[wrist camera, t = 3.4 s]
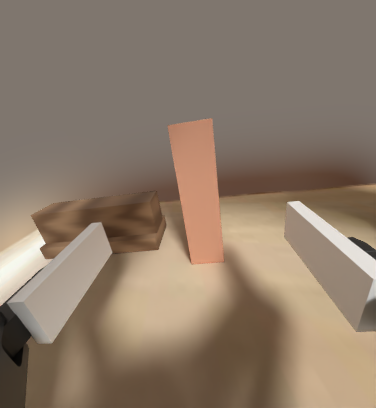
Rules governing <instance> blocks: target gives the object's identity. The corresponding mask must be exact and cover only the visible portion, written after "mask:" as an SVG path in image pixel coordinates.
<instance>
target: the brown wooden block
mask: <svg viewBox="0 0 376 408" xmlns="http://www.w3.org/2000/svg"><path fill="white" fill-rule="evenodd" d="M31 217H32V219H33V220H34V222H35V224H36V226H37V228H38V230H39V232H40V233H41V235H42V237H43V239H44V241H45V243H46V244H45V245H44V246H42V247H41V248H40V250H41V252H42V254H43V255H44V257H45V259H53V258H55V257H56V256H57V255H58V254H59V253H60V252H61V251H62V250H64V249H65V248H66V247H67V246H68V245H69V244H70V243H71V242H72V241H73V240H74V239H75V238H76V237H77V236H78V235H79V234H81V233H82V232H83V231H84V230H85V229H86V228H87V227H88V226H89V225H90V224H91V223H98V222H101V223H102V226H103V228H104V231H105V234H106V236H107V239H108V242H109V244H110V247H111V250H112V253H124V252H136V251H148V250H158V249H159V246H160V243H161V240H162V237H163V234H164V231H165V227H166V222H165V217H164V215H162V213H161V208H160V204H159V200H158V195H157V191H151V192H142V193H134V194H126V195H118V196H109V197H101V198H92V199H84V200H76V201H68V202H59V203H53V204H51V205H49V206H47V207H45V208H44V209H42V210H40V211H38V212H36V213H34V214H33V215H31Z"/></svg>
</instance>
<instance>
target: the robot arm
mask: <svg viewBox="0 0 376 408" xmlns="http://www.w3.org/2000/svg"><path fill="white" fill-rule="evenodd" d="M284 237H285V239H286V240H287V241H288V243H289V244H290V245H291V247H292V248H293V249H294V251H295V252H296V253H297V255H298V256H299V257H300V258H301V260H302V261H303V262H304V264H305V265H306V266H307V268H308V269H309V270H310V272H311V273H312V274H313V276H314V277H315V278H316V280H317V281H318V282H319V284H320V285H321V286H322V287H323V289H324V290H325V291H326V293H327V294H328V295H329V297H330V298H331V299H332V301H333V302H334V303H335V305H336V306H337V307H338V309H339V310H340V311H341V313H342V314H343V315H344V317H345V318H346V319H347V320H348V322H349V323H350V324H351V326H352V327H353V328H354V330H355V331H356V332H366V331H376V250H375V249H374V248H372V247H371V246H370V245H368V244H367V243H365V242H363V241H361V240H358V239H356V238H354V237H348V238H346V237H345V236H344V235H343V234H341V233H340V232H339V231H337V230H336V229H335V228H333V227H332V226H331V225H330V224H328V223H327V222H326V221H324V220H323V219H322V218H320V217H319V216H318V215H317V214H315V213H314V212H313V211H311V210H310V209H309V208H307V207H306V206H305V205H304V204H302V203H301V202H300V201H293V202H287V205H286V219H285V232H284ZM111 254H112V250H111V247H110V244H109V242H108V239H107V236H106V234H105V231H104V228H103V226H102V223H101V222H98V223H91V224H90V225H89V226H88V227H87V228H86V229H85V230H84V231H83V232H82V233H81V234H79V235H78V236H77V237H76V238H75V239H74V240H73V241H72V242H71V243H70V244H69V245H68V246H67V247H66V248H65V249H64V250H62V251H61V252H60V253H59V254H58V255H57V256H56V257H55V258H54V259H53V260H52V261H51V262H50V263H49V264H48V265H46V266H45V267H44V268H42V269H41V270H39V271H38V272H37V273H36V274H35V275H34V276H33V277H32V279H30V280H28V281H27V282H26V283H25V285H23V286H22V287H21V288H20V289H19V290H18V291H17V292H16V293H14V294H13V295H12V296H11V297H10V298H9V299H8V300H7V301H6V302H5V303H4V304H3V305H2V306H0V408H25V396H26V382H27V367H28V353H29V348H28V345H27V344H26V342H27V341H28V339H29V338H30V337H31V336H32V337H33V339H34V340H35V341H36V343H37V344H45V343H53V341H54V340H55V338H56V337H57V335H58V334H59V332H60V331H61V329H62V328H63V326H64V325H65V323H66V322H67V320H68V319H69V317H70V316H71V314H72V313H73V311H74V310H75V308H76V307H77V305H78V304H79V302H80V301H81V299H82V298H83V296H84V295H85V293H86V292H87V290H88V289H89V287H90V286H91V284H92V283H93V281H94V280H95V278H96V277H97V275H98V273H99V272H100V270H101V269H102V267H103V266H104V264H105V263H106V261H107V260H108V258H109V257H110V255H111Z"/></svg>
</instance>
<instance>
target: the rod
mask: <svg viewBox="0 0 376 408" xmlns="http://www.w3.org/2000/svg"><path fill="white" fill-rule="evenodd" d="M168 131H169V136H170V142H171V148H172V153H173V160H174V165H175V171H176V177H177V182H178V188H179V194H180V200H181V206H182V212H183V217H184V223H185V229H186V235H187V240H188V246H189V252H190V258H191V263H192V264H202V263H215V262H224V253H223V241H222V230H221V218H220V206H219V194H218V183H217V171H216V159H215V147H214V136H213V125H212V118H211V119H205V120H198V121H192V122H186V123H180V124H174V125H168Z"/></svg>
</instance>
